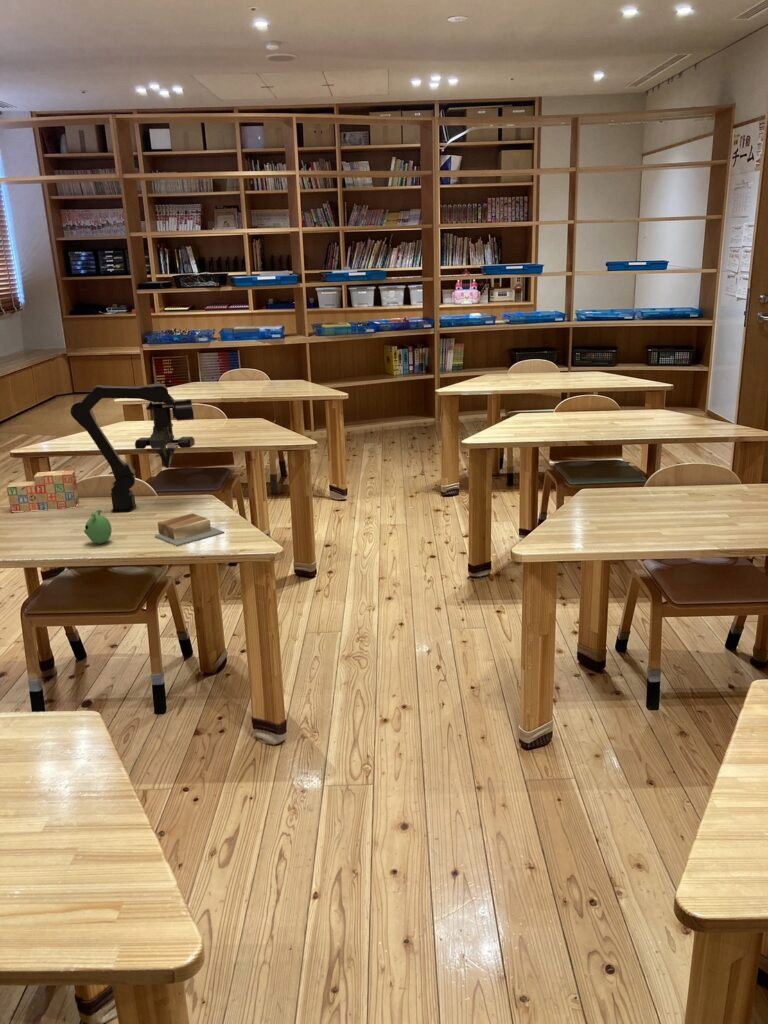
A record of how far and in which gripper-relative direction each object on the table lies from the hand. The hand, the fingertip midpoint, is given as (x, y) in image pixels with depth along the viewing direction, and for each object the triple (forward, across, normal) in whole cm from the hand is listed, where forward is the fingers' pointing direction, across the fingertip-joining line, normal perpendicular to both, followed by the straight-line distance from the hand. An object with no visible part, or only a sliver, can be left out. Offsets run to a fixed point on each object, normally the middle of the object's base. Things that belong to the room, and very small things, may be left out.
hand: (167, 467), depth 273 cm
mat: (+13, +16, -34) cm, 40 cm away
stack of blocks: (+13, -44, -2) cm, 46 cm away
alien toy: (+13, -9, -40) cm, 43 cm away
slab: (+11, +11, -28) cm, 32 cm away
